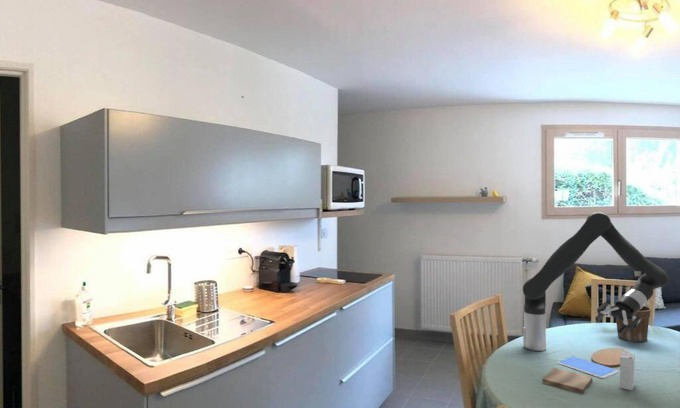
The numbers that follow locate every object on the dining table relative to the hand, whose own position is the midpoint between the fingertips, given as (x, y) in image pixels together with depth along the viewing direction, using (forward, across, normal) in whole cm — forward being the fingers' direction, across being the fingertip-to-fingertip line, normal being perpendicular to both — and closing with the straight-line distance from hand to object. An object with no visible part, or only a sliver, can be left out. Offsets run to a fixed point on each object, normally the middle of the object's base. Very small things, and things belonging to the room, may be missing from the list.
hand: (607, 326), depth 164 cm
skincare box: (+12, +14, +13) cm, 22 cm away
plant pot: (-35, -12, +50) cm, 62 cm away
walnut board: (+26, 0, +8) cm, 28 cm away
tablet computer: (+10, -4, +20) cm, 23 cm away
